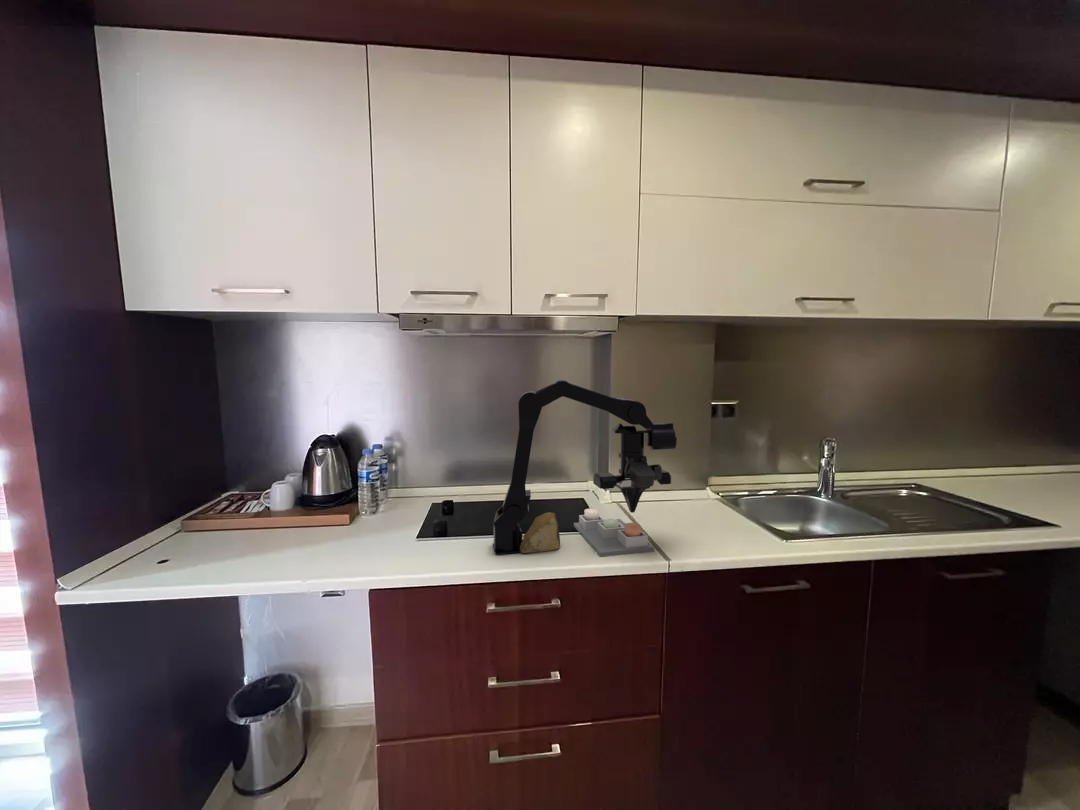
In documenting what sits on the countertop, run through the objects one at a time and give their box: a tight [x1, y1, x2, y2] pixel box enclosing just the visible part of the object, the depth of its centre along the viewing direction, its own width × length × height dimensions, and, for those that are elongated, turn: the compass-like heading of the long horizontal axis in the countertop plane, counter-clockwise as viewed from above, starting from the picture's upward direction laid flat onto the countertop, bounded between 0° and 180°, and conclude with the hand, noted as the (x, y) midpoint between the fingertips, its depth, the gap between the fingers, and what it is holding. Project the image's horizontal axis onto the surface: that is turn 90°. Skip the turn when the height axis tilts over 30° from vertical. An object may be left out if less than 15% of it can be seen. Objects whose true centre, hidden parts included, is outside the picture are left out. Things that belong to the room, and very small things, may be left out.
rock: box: [519, 511, 561, 554], centre depth 114 cm, size 11×9×10 cm
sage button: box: [603, 518, 619, 529], centre depth 120 cm, size 4×4×3 cm
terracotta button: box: [624, 522, 642, 537], centre depth 114 cm, size 4×4×3 cm
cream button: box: [583, 507, 600, 521], centre depth 127 cm, size 4×4×3 cm
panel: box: [573, 514, 655, 558], centre depth 121 cm, size 14×22×4 cm, turn 12°
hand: (632, 512), depth 114 cm, fingers closed
